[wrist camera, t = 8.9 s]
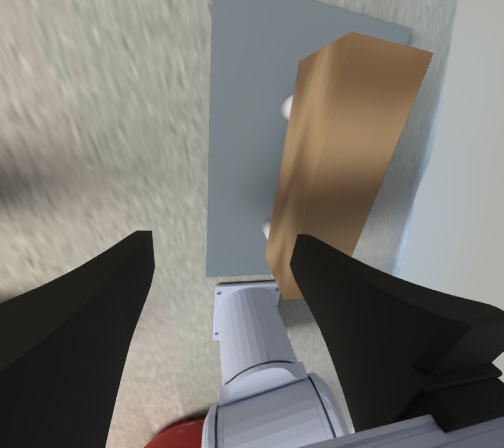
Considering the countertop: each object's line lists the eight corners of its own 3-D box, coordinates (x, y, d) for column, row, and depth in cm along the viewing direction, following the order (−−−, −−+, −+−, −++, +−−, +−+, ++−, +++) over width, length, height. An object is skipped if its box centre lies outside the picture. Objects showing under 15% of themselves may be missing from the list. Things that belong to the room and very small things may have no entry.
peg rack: (322, 265, 26) (339, 286, 22) (206, 269, 22) (206, 295, 19) (398, 34, 16) (448, 14, 13) (212, -18, 12) (215, -63, 9)
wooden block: (305, 255, 19) (335, 295, 15) (264, 256, 18) (283, 300, 14) (357, 73, 13) (433, 52, 9) (299, 61, 12) (352, 31, 8)
